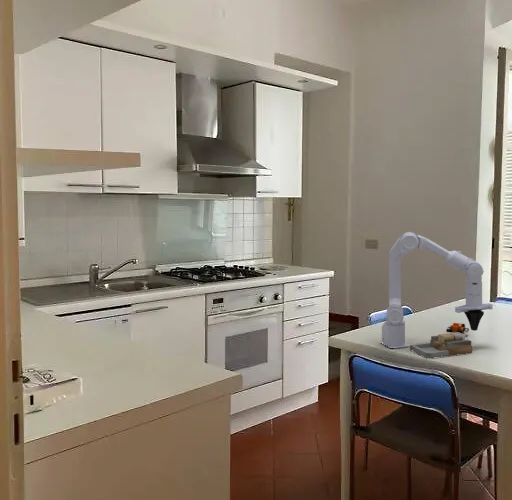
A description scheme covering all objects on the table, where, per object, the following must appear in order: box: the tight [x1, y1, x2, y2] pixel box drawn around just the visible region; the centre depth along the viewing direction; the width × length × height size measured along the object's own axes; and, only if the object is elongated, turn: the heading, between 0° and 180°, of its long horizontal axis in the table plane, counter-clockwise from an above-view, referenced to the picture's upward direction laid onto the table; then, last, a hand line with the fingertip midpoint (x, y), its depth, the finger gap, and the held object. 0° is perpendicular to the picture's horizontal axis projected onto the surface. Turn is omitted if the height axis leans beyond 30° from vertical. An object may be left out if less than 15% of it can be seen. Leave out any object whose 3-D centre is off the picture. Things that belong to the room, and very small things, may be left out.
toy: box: [445, 322, 470, 334], centre depth 226 cm, size 8×6×15 cm
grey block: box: [448, 332, 466, 341], centre depth 206 cm, size 4×4×3 cm
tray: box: [409, 342, 450, 359], centre depth 204 cm, size 12×8×2 cm
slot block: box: [429, 335, 473, 356], centre depth 206 cm, size 12×10×4 cm
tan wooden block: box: [437, 332, 454, 345], centre depth 205 cm, size 4×4×3 cm
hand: (474, 329), depth 208 cm, fingers closed
